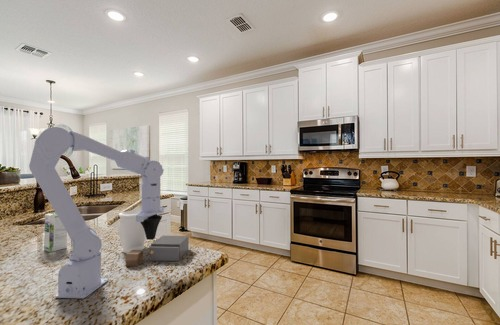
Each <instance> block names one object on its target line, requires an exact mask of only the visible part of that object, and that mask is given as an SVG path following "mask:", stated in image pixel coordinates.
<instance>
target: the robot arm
mask: <svg viewBox="0 0 500 325" xmlns="http://www.w3.org/2000/svg"><path fill="white" fill-rule="evenodd" d="M70 148H71V152H77V151H78V152H79V151H86V152H89V153H92V154H95V155H97V156H100V157H102V158H103V157H104V158H107V159H109V160H112V161H114V162H115V164H116V165H117V167H118V168H121V169H123V170H126V171H129V172H132V173H134V174H137V175H139V174H140V176H141V198H140V199H141V200H140V201H141V202H140V203H141V204H140V205H141V207H140V208H141V209H140V210H141V212H140V213H139V214H138V215H136V222H140V223H141V224H142V226H143V228H144V231H145V235H146V240H147V241H148V240H151V241H152V240H153V241H154V240H155V238H156V236H157V230H158V227H159V225H160V222H161V221H162V218H163V216H162V215H159V214H164V211H165V210H164V206H161V177H162V175H163V174H164V170H165V169H164V168H163V165H162V164H161V163H160V162H159V161H157V160H150V157H149V156H143V155H140V154H139V153H136V151H135V150H133V149H124V150H118V149H116V148H113V147H111V146H109V145H106V144H104V143H102V142H100V141H98V140H95V139H93V138H91V137H89V136H86V135H84V134H81V133H78V132H75V131H71V130H70V131H68V130H67V129H65V128H63V127H59V126H51V127H47V128H46V129H44V130H43V131H42V132H41V133H40V134H39V136H37V138H36V139H35V140H34V145H33V150H32V154H31V156H30V161H29V165H28V167H29V171H30V172H31V174H32V175H33V177H34V179H35V181H36V182H37V184H38V185H39V187H40V189H41V190H42V193H43V194H44V195H45V197H46V199H47V200H48V202H49V204H50V205H51V208H52V209H53V210H54V212H56V214H57V215H58V217H59V219H60V220H61V222H62V224H63V225H64V227H65V229H66V231H67V236H68V237H69V239H70V244H71V247H72V251H71V253H70V254H69V258H68V261H67V262H66V263H65V264H64V265H62V267H61V268H60V269H59V271H58V275H57V276H58V277H57V281H58V283H57V287H58V288H57V294H55V295H54V298H56V299H57V298H59V299H61V298H63V299H85V298H87V297H88V296H89V295H91V294H92V293H93V292H95V291H96V290H97V289H99V288H100V287H102V286H103V285H104V284H105V283H107V282H108V281H109V278H102V250H101V248H102V239H101V238H100V237H99V236H98V232H96V230H95V229H93V228H91V227H89V225H88V224H87V222H86V221H85V219H84V217H83V215H82V213H81V212H80V210H79V208H78V206H77V205H76V203H75V201H74V199H73V198H72V196H71V194H70V192H69V190H68V189H67V187H66V185H65V184H64V182H63V180H62V178H61V177H60V175H59V173H58V170H56V166H57V164H58V162H59V161H60V158H61V156H62V155H64V154H65V153H66V152H67V151H68V150H70Z"/></svg>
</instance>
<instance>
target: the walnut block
mask: <svg viewBox="0 0 500 325" xmlns="http://www.w3.org/2000/svg"><path fill="white" fill-rule="evenodd" d="M142 263H144V249H143V250H131V251H130V252H128V253H125V267H138V266H139V265H141V264H142Z"/></svg>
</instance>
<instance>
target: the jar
mask: <svg viewBox="0 0 500 325" xmlns="http://www.w3.org/2000/svg"><path fill="white" fill-rule="evenodd" d="M140 212H141V209H137V210H136V209H132V210H127V211H122V212H119V213H118V217H119V218H120V219H119V222H118V235H119V236H118V237H119V242H120V244H121V246H122V248H121V253H125V254H127V253H128V252H130V251H131V250H143V251H144V250H145V248H146V245H144V244H145V242H146V240H147V238H146V235H145V231H144V228H143V226H142V224H141V223H140V222H136V215H138V214H139V213H140Z"/></svg>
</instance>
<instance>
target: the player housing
mask: <svg viewBox="0 0 500 325" xmlns="http://www.w3.org/2000/svg"><path fill="white" fill-rule="evenodd" d="M189 238H190V237H189V235H162V236H160V237H159V238H157V239H156V240H153V242H152V243H150V246H156V247H162V246H172V247H179V260H178V261H180V260H181V259H182V258H183V256H185V255H186V254H187V252H188V251H189V246H190V245H189V242H190V241H189V240H190V239H189Z"/></svg>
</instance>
